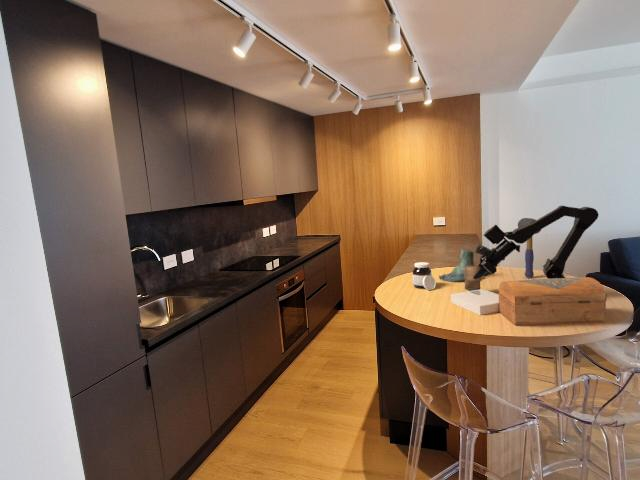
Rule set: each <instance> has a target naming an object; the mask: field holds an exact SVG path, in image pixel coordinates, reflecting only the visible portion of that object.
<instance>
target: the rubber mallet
mask: <svg viewBox="0 0 640 480" xmlns="http://www.w3.org/2000/svg"><path fill="white" fill-rule="evenodd" d="M536 220H537V219H534V218H531V217H529V218H528V217H523V218H521V219H520V220H518V222H517V228H519V227H522V226H525V225H528V224H531V223H533V222H534V221H536ZM541 231H542V229H541V230H539V231H537V232H536V233H535V234H534V235H536V234H539V233H541ZM524 260H525V261H524V262H525V272H524V276H525V277H526V278H528V279H533V278H534V274H535V273H534V249H533V236H532V237H531V238H530V239H528V240H527V241H526V249H525V251H524Z"/></svg>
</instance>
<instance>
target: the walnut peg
mask: <svg viewBox="0 0 640 480" xmlns="http://www.w3.org/2000/svg"><path fill="white" fill-rule="evenodd" d="M479 269H480V266H478V265H475V264H474V265H468V266H465V282H464V289H465V290H466V291H473V290H479V289H482V288H481V278H478V279H474V278H473V277H474V276H475V274H476V273H477V272H478V271H479Z"/></svg>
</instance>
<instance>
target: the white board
mask: <svg viewBox="0 0 640 480" xmlns="http://www.w3.org/2000/svg"><path fill="white" fill-rule="evenodd" d="M450 303H452V304H454V305H457V306H458V307H461V308H464V309H466V310H468V311H470V312H472V313H474V314H477V315H479V316H482V315H487V314H488V315H489V314H494V313H498V312H499V313H500V311H499V293H496V292H492V291H490V290H486V289H483V288H481V289H479V290H473V291H469V290H466V291H462V292H455V293H451V294H450Z"/></svg>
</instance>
